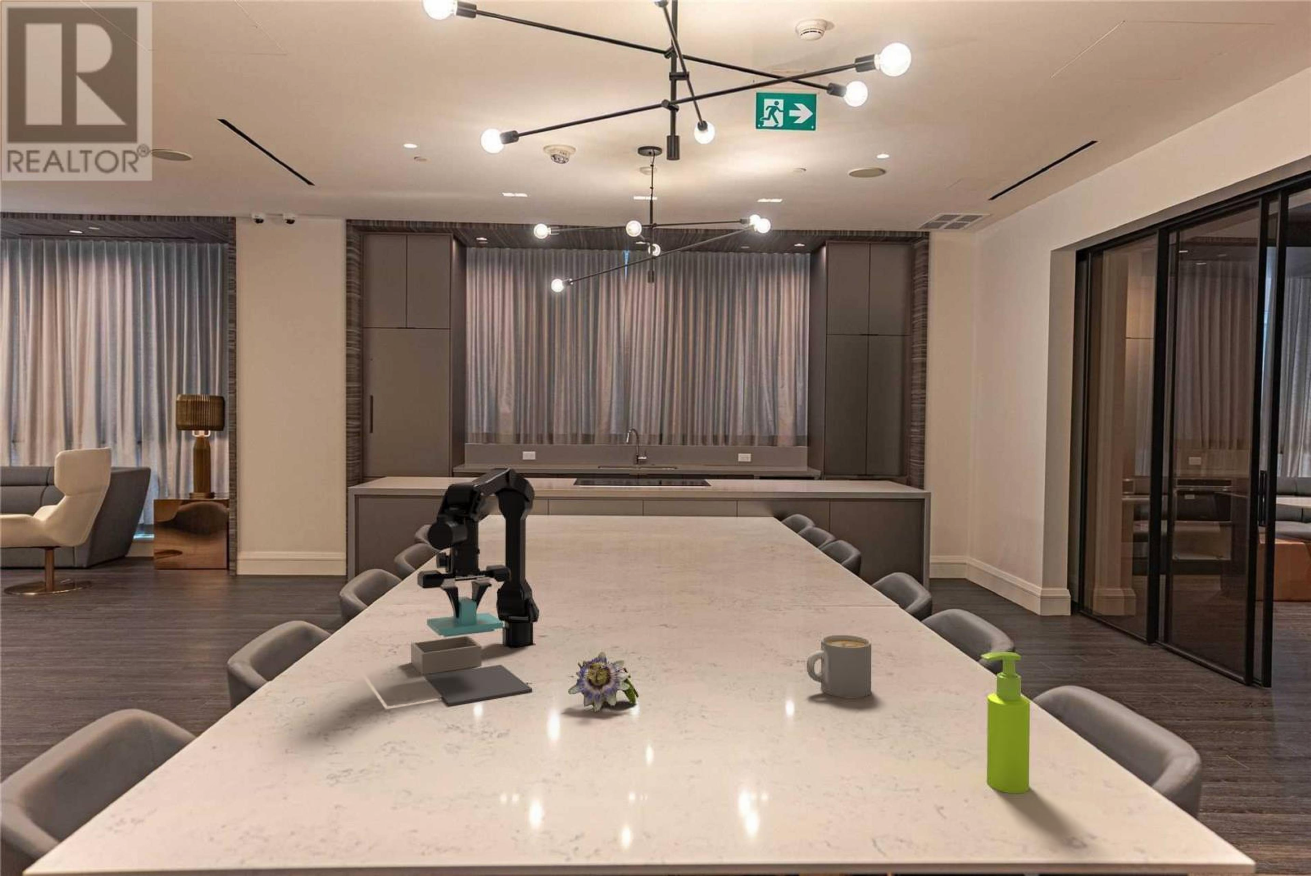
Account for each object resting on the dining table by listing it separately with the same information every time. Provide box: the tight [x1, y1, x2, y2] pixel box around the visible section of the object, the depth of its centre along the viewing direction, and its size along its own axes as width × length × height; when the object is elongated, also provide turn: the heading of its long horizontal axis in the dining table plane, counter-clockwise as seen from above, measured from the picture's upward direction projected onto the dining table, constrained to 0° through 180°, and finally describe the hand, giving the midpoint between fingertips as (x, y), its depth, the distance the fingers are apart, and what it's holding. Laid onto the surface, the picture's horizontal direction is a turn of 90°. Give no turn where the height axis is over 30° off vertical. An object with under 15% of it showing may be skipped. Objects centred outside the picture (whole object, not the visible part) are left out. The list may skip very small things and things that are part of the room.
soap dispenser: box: [980, 651, 1031, 794], centre depth 127 cm, size 6×7×20 cm
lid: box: [426, 596, 504, 638], centre depth 177 cm, size 13×10×6 cm
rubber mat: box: [423, 664, 533, 707], centre depth 174 cm, size 17×19×1 cm
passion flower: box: [567, 650, 640, 713], centre depth 163 cm, size 11×11×12 cm
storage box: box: [410, 635, 482, 676], centre depth 187 cm, size 13×10×5 cm
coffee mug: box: [806, 634, 872, 699], centre depth 171 cm, size 13×10×10 cm
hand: (464, 616), depth 177 cm, fingers closed on lid, 3 cm apart
